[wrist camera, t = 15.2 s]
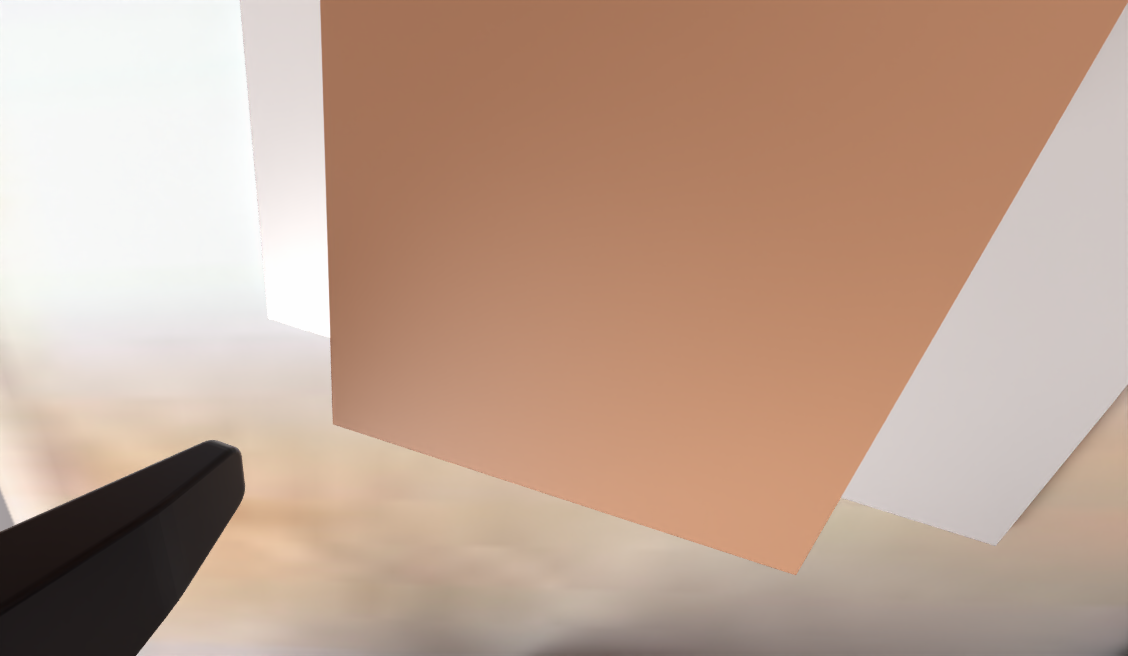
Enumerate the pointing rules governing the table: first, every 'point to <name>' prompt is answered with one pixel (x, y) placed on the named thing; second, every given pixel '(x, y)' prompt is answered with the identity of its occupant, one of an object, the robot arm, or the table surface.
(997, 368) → the baseplate
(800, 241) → the terracotta block
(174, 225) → the table surface
